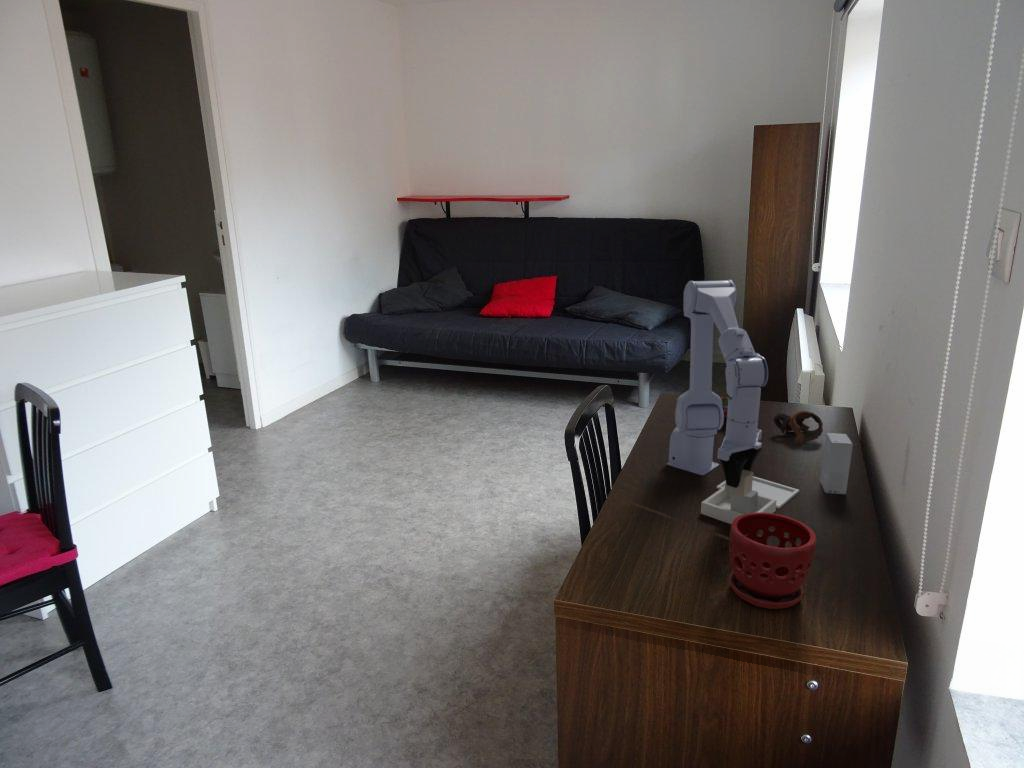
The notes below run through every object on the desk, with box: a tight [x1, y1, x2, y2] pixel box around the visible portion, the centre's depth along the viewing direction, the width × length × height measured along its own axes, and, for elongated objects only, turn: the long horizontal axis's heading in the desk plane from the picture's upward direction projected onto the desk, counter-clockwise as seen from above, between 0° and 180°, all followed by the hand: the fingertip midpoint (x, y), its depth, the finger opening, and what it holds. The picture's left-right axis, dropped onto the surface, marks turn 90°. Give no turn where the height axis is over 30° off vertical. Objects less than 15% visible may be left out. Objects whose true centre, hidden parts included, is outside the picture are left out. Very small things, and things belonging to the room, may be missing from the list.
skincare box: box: [819, 432, 854, 495], centre depth 154 cm, size 6×4×12 cm
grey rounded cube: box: [730, 490, 758, 514], centre depth 146 cm, size 4×3×4 cm
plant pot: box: [728, 512, 817, 610], centre depth 118 cm, size 13×13×12 cm
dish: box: [700, 486, 777, 525], centre depth 145 cm, size 11×11×3 cm
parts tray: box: [716, 475, 800, 509], centre depth 154 cm, size 14×10×1 cm
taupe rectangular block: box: [725, 469, 754, 497], centre depth 141 cm, size 4×3×4 cm
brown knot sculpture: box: [772, 410, 824, 446], centre depth 183 cm, size 12×10×8 cm
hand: (736, 482), depth 142 cm, fingers closed on taupe rectangular block, 3 cm apart
